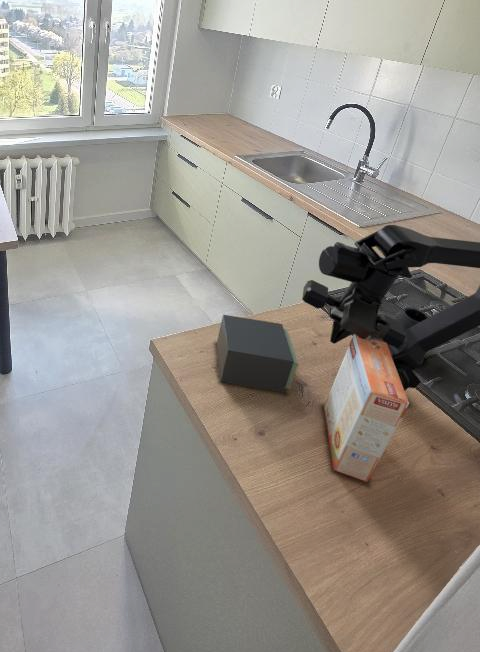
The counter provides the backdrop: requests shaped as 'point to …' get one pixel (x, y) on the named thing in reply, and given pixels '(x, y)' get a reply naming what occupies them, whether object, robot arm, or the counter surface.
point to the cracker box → (363, 407)
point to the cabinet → (253, 353)
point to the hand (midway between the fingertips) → (332, 341)
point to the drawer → (293, 359)
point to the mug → (410, 317)
